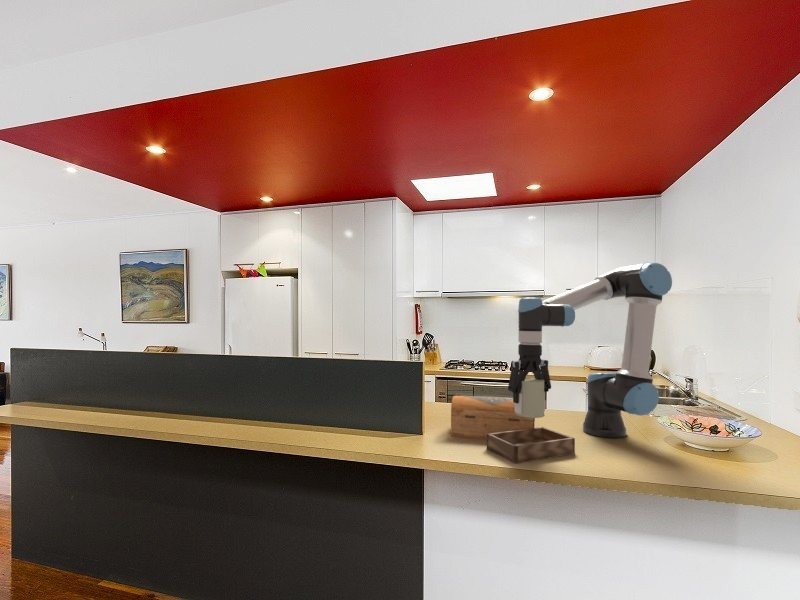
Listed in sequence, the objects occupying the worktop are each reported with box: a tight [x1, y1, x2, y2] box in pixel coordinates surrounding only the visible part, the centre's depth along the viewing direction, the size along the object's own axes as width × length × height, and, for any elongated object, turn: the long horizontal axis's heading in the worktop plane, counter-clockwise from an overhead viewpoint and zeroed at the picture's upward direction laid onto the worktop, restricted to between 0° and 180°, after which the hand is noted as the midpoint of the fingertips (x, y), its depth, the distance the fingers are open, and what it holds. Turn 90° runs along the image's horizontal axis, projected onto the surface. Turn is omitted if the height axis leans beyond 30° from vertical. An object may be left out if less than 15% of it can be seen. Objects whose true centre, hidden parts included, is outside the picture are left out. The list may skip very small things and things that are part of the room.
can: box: [516, 377, 545, 419], centre depth 142 cm, size 9×9×12 cm
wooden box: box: [450, 395, 536, 440], centre depth 163 cm, size 30×16×14 cm, turn 77°
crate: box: [486, 426, 576, 464], centre depth 142 cm, size 24×15×5 cm, turn 113°
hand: (529, 411), depth 142 cm, fingers closed on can, 9 cm apart
